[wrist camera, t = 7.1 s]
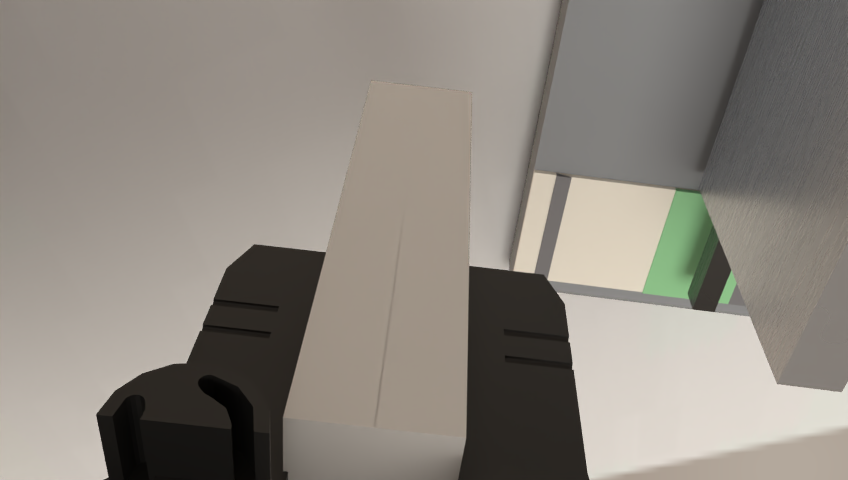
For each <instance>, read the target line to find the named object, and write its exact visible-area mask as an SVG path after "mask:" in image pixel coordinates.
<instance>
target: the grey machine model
mask: <svg viewBox="0 0 848 480" xmlns="http://www.w3.org/2000/svg"><path fill="white" fill-rule="evenodd" d="M699 190H700V193H701V195H702V198H703V200H704V203H705V205H706V208H707V210H708V213H709V215H710V218H711V220H712V223H713V226H712V228H711V231H710V234H709V236H708V239H707V242H706V244H705V247H704V250H703V252H702V255H701V258H700V261H699V263H698V266H697V269H696V271H695V274H694V277H693V279H692V282H691V285H690V287H689V290H688V297H689V300H690V303H691V306H692V309H694V310H702V311H710V312H715V310H716V307H717V305H718V302H719V300H720V297H721V295H722V292H723V290H724V287H725V285H726V282H727V280H728V278H729V275H730V273H731V270H732V273H733V275H734V278H735V280H736V283H737V285H738V288H739V290H740V293H741V295H742V298H743V300H744V303H745V305H746V308H747V310H748V313H749V315H750V318H751V320H752V323H753V325H754V328H755V330H756V333H757V335H758V338H759V340H760V343H761V345H762V348H763V350H764V353H765V355H766V358H767V360H768V363H769V365H770V367H771V370H772V372H773V375H774V377H775V380H776V382H777V384H782V385H790V386H798V387H806V388H814V389H822V390H830V391H838V392H842V391H843V389H844V387H845V385H846V384H847V382H848V0H764V2H763V5H762V8H761V11H760V14H759V16H758V19H757V22H756V25H755V28H754V31H753V34H752V37H751V39H750V42H749V45H748V48H747V51H746V54H745V57H744V60H743V62H742V65H741V68H740V71H739V74H738V77H737V80H736V82H735V85H734V88H733V91H732V94H731V97H730V100H729V103H728V105H727V108H726V111H725V114H724V117H723V120H722V123H721V126H720V128H719V131H718V134H717V137H716V140H715V143H714V146H713V148H712V151H711V154H710V157H709V160H708V163H707V166H706V169H705V171H704V174H703V177H702V180H701V183H700V186H699Z"/></svg>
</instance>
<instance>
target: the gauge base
mask: <svg viewBox="0 0 848 480" xmlns="http://www.w3.org/2000/svg"><path fill="white" fill-rule="evenodd" d="M763 2H764V0H562V4H561V9H560V14H559V19H558V24H557V29H556V34H555V39H554V44H553V49H552V54H551V59H550V64H549V69H548V74H547V78H546V83H545V88H544V93H543V98H542V103H541V108H540V113H539V118H538V123H537V128H536V133H535V138H534V143H533V148H532V153H531V158H530V163H529V167H528V172H527V177H526V182H525V187H524V192H523V197H522V202H521V207H520V212H519V217H518V222H517V227H516V232H515V237H514V242H513V247H512V252H511V256H510V261H509V270H510V271H517V272H525V273H534V274H543V275H545V277H546V278H547V280H548V281H549V283H550V284H551V285H552V287H553V288H554V290H555V291H556V292H560V293H568V294H576V295H583V296H591V297H599V298H607V299H615V300H623V301H631V302H639V303H647V304H655V305H663V306H671V307H679V308H687V309H692V306H691V303H690V300H689V297H688V290H689V287H690V285H691V282H692V279H693V277H694V274H695V271H696V269H697V266H698V263H699V261H700V258H701V255H702V252H703V250H704V247H705V244H706V242H707V239H708V236H709V234H710V231H711V228H712V226H713V223H712V220H711V218H710V215H709V213H708V210H707V208H706V205H705V203H704V200H703V198H702V195H701V193H700V190H699V186H700V183H701V180H702V177H703V174H704V171H705V169H706V166H707V163H708V160H709V157H710V154H711V151H712V148H713V146H714V143H715V140H716V137H717V134H718V131H719V128H720V126H721V123H722V120H723V117H724V114H725V111H726V108H727V105H728V103H729V100H730V97H731V94H732V91H733V88H734V85H735V82H736V80H737V77H738V74H739V71H740V68H741V65H742V62H743V60H744V57H745V54H746V51H747V48H748V45H749V42H750V39H751V37H752V34H753V31H754V28H755V25H756V22H757V19H758V16H759V14H760V11H761V8H762V5H763ZM715 312H719V313H727V314H735V315H743V316H750V315H749V313H748V310H747V308H746V305H745V303H744V300H743V298H742V295H741V293H740V290H739V288H738V285H737V283H736V280H735V278H734V275H733V273H732V270H731V273H730V275H729V278H728V280H727V282H726V285H725V287H724V290H723V292H722V295H721V297H720V300H719V302H718V305H717V307H716V310H715Z"/></svg>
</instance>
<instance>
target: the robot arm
mask: <svg viewBox="0 0 848 480" xmlns="http://www.w3.org/2000/svg"><path fill="white" fill-rule="evenodd" d="M471 116H472V92H466V91H457V90H449V89H440V88H432V87H423V86H415V85H406V84H397V83H389V82H380V81H372V80H371V83H370V87H369V91H368V95H367V98H366V102H365V106H364V110H363V114H362V117H361V121H360V125H359V129H358V133H357V137H356V140H355V144H354V148H353V152H352V156H351V159H350V163H349V167H348V171H347V175H346V179H345V182H344V186H343V190H342V194H341V198H340V201H339V205H338V209H337V213H336V217H335V221H334V224H333V228H332V232H331V236H330V240H329V243H328V247H327V251H326V252H317V251H308V250H299V249H291V248H282V247H273V246H264V245H255V244H254V245H253V246H252V247H251V248H250V249H249V250H247V251H246V252H245V253H244V254H243V255H242V256H240V257H239V258H238V259H237V260H236V261H235V262H233V263H232V264H231V265H230V266H229V267H228V268H226V271H225V273H224V276H223V278H222V280H221V283H220V285H219V287H218V290H217V292H216V295H215V297H214V302H213V305H211V306H210V309H209V311H208V314H207V316H206V318H205V321H204V323H203V329H202V331H200V332H199V335H198V337H197V340H196V342H195V344H194V347H193V349H192V351H191V354H190V356H189V359H188V361H187V363H186V364H172V365H169V366H166V367H162V368H159V369H156V370H152V371H149V372H146V373H142V374H141V375H139V376H138V377H136V378H135V379H133V380H131V381H130V382H128V383H127V384H125V385H124V386H122V387H120V388H119V389H117V390H116V391H115V392H114V393H113V394H112V395H111V397H110V398H109V399H108V400H107V402H106V403H105V404H104V405H103V407H102V408H101V409H100V410H99V412H98V413H97V414H96V416H97V421H98V426H99V431H100V436H101V441H102V446H103V451H104V456H105V461H106V466H107V471H108V476H109V478H107V479H104V480H589V477H588V473H587V466H586V459H585V452H584V444H583V437H582V429H581V422H580V415H579V407H578V400H577V392H576V385H575V378H574V370H572V355H571V348H570V343H569V342H568V338H569V333H568V326H567V318H566V311H565V304H564V303H563V301H562V300H561V298H560V297H559V295H558V294H557V293H556V291H555V290H554V288H553V287H552V285H551V284H550V283H549V281H548V280H547V278H546V277H545V275H543V274H534V273H525V272H517V271H508V270H499V269H490V268H482V267H473V266H469V238H470V177H471Z"/></svg>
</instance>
